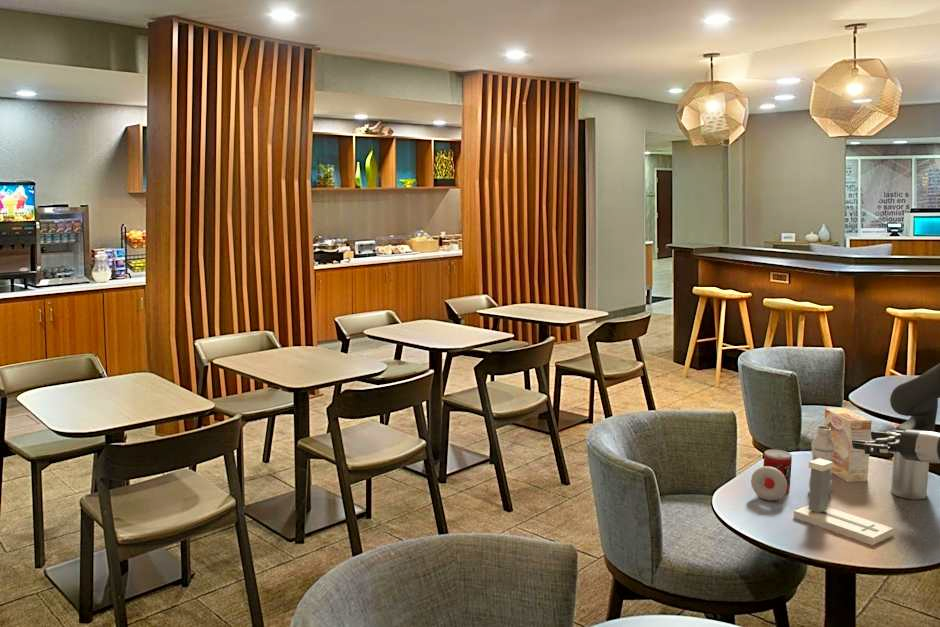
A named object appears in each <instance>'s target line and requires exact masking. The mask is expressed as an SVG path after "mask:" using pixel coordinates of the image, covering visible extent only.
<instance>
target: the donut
mask: <svg viewBox="0 0 940 627" xmlns="http://www.w3.org/2000/svg"><path fill="white" fill-rule="evenodd" d="M765 478H770V479H772V480H773V481H774V483H775V486H774V488H772V489H768V488H766V487H765V486H764V484H763V480H764V479H765ZM750 479H751V480H750V484H751V488H752V491H753V492H754V494H756V495H757V496H758V497H759V498H761V499H763V500H766V501H776V500H779V499H780V498H782V497H783V496H785V494H786V493H787V492H786V489H787V481H786V478H785V476H784V475H783V474H782V473H781V471H779V470H778V469H776V468H773V467H770V466H764V465H763V466H762V467H758V468H757V469H756V470H755V471H754V472H753V473H752V475H751V478H750Z"/></svg>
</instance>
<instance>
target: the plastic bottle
mask: <svg viewBox="0 0 940 627" xmlns="http://www.w3.org/2000/svg"><path fill="white" fill-rule="evenodd" d="M816 434H817V435H816V436H815V437H814V438H813V440H812V442H811V455H812V458H811V459H812V460H815V459H818V458H821V459H824V460H828V461H831V462H832V459H833V454H834V450H835V445H834V442H833V440H832V439H831V438H830V435H831V428H829V427H826V426H824V425H819V426H817V430H816ZM812 460H811V461H812ZM810 481H811V475H810V476H809V480H808V488H809V489H810ZM832 489H833V479H832V472H831V468H830V474H829V489H828V495H829V494H830V493H831V492H832Z"/></svg>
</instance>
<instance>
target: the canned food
mask: <svg viewBox="0 0 940 627" xmlns="http://www.w3.org/2000/svg"><path fill="white" fill-rule="evenodd" d="M792 458H793V456H792V454H791V453H790V452H789V451H787V450H786V451H785V450H781V449H767V450H765V451H764V454H763V467H764V466H770V467H773V468H776V469H778V470H779V471H781V473H782V474H783V475H784V476H785V478H786V481H787V489H786V492H785V493H788V492H789V491H790V488H791V480H792V479H791V478H792V477H791V475H792V461H793V460H792ZM763 484H764V486H765V487H766V488H768V489H772V488H774V486H775V483H774V481H773V480H772V479H770V478H765V479H764V480H763Z"/></svg>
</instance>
